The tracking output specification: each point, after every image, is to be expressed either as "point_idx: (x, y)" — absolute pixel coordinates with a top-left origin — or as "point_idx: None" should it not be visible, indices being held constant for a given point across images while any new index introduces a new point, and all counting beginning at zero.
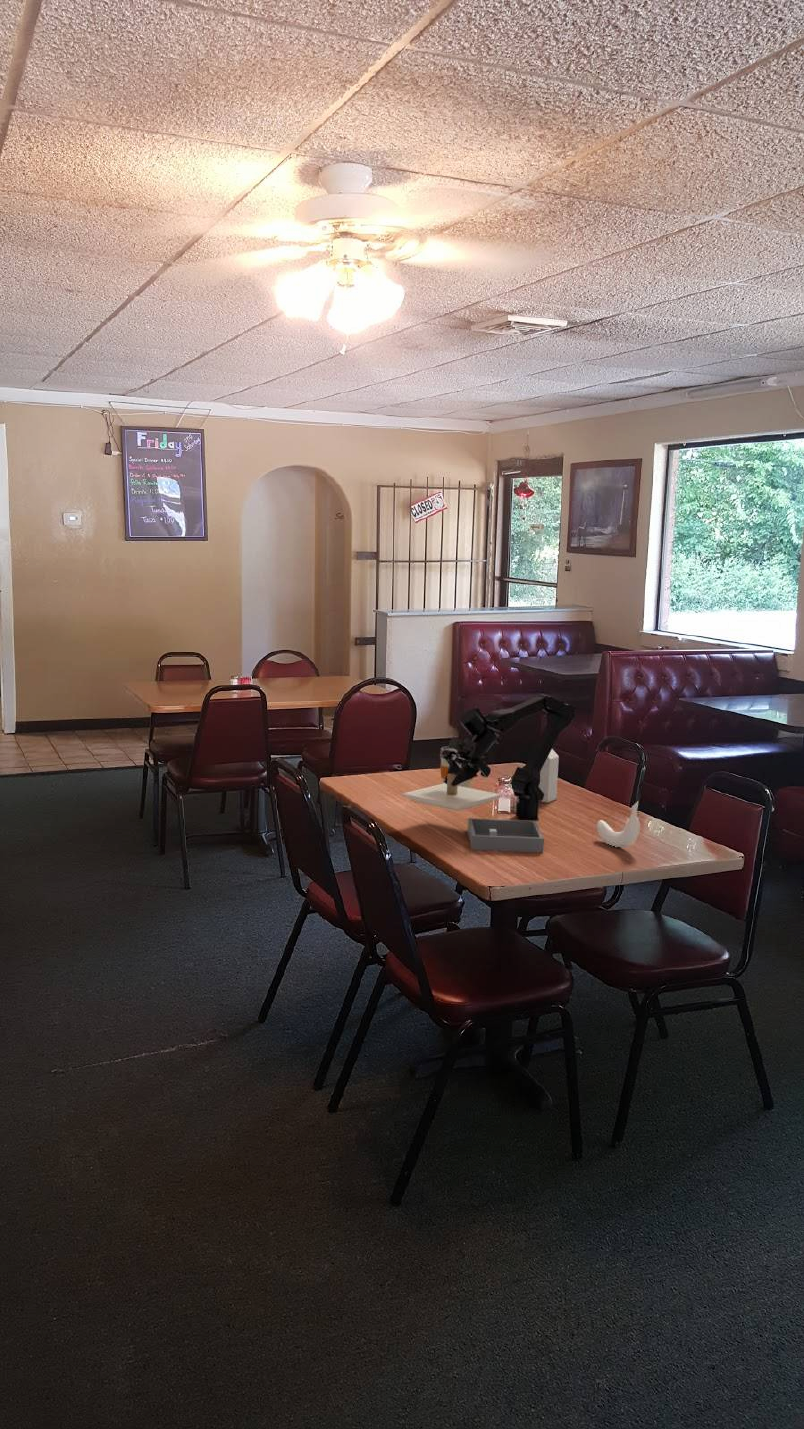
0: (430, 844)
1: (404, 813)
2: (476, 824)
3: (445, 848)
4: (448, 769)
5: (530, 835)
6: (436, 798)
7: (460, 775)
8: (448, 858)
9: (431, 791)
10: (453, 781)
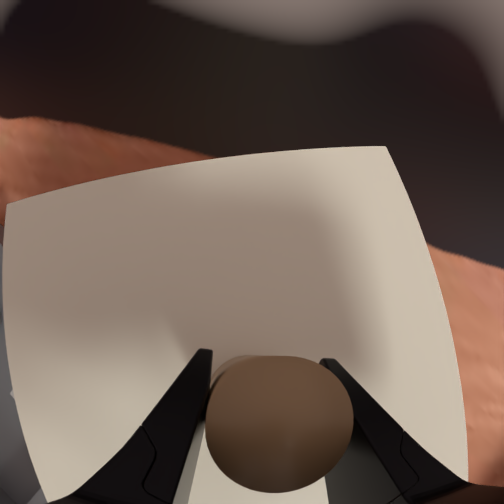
0: (107, 160)
1: (455, 341)
2: None
3: (55, 171)
4: (424, 450)
5: (14, 497)
6: (199, 205)
7: (133, 442)
8: (14, 131)
9: (374, 310)
10: (194, 366)
